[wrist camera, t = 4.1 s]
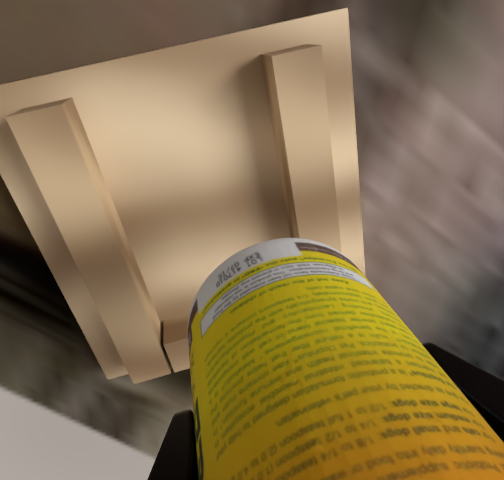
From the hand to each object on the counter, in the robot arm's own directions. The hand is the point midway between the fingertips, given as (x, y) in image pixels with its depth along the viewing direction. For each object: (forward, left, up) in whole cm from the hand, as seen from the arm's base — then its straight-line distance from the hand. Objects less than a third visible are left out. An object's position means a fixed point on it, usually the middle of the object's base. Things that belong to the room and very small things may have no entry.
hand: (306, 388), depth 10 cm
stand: (0, +1, -13) cm, 13 cm away
